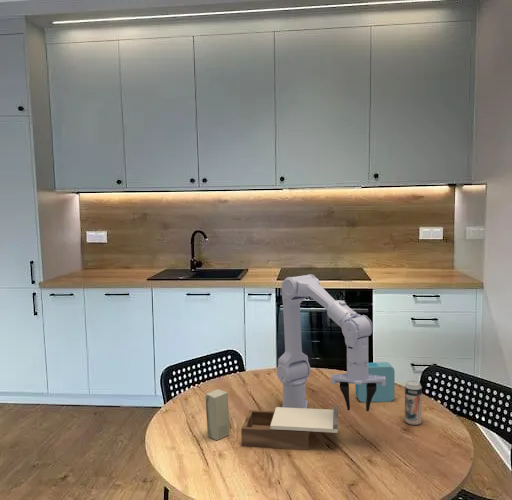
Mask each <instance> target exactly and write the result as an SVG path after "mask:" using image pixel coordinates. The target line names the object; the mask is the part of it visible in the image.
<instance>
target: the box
mask: <svg viewBox="0 0 512 500" xmlns="http://www.w3.org/2000/svg"><path fill="white" fill-rule="evenodd" d="M228 394H229V393H228V392H227V391H224V390H221V389H219V388H218V389H215V390H213V391H209V392H207V393H205V411H206V429H207V437H209V438H211V439H213V440H215V441H219V440H221V439H223V438H225V437H228V436H229V435H230V429H231V428H230V415H229V412H230V410H229V395H228Z"/></svg>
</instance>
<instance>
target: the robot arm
mask: <svg viewBox="0 0 512 500" xmlns="http://www.w3.org/2000/svg"><path fill="white" fill-rule="evenodd" d="M320 284H321V283H320V279H318V278H317V277H316V276H315V275H314V274H311V273H308V274H306V275H305V274H303V275H298V276H287V277H286V278H285V279H283V281H282V282H281V298H282V299H281V300H282V312H283V313H282V314H283V315H282V316H283V332H284V333H283V334H284V335H283V336H284V337H283V338H284V353H282V355H281V356H280V357H279V358H278V360H277V363H278V364H277V368H276V375H277V379H278V380H279V381H280V383H282V401H283V402H282V405H281V407H285V408H307V409H308V404H309V400H306V382H307V381H308V378H309V376H310V375H311V365H310V362H309V357H308V355H307V354H305V353H304V352H303V347H302V343H303V342H302V324H301V320H302V319H301V304H302V303H303V301H304V300H305V299H306V298H308V297H310V298H311V299H313V301H315V302H317V303H318V304H319V305H320V306H322V307H323V308H325V310H327V313H326V314H327V316H328V317H329V318H330V319H331V320H332V321H333V322H334V323H335V324H336V325H337V326H338V327H340V328H341V332H342V335H343V336H344V343H345V346H346V373H339V374H336V373H335V374H330V384H332V385H333V384H334V385H335V384H339V389H340V392H341V394H342V395H343V398H344V400H345V403H346V410H347V411H351V406H350V405H351V404H350V403H351V402H350V384H351V385H352V384H353V385H356V384H366V389H367V397H366V402H365V409H366V410H365V411H366V412H369V411H370V406H371V403H372V402H371V400H372V398H373V396H374V394H375V392H376V389H377V387H376V384H377V385H382V386H386V379H385V376H376V375H370V374H368V363H369V336H371V335H372V333H373V331H374V325H373V323H372V320H371V319H370V318H369V317H368V315H365V314H362V315H361V314H360V313H357V312H356V310H353V309H352V308H350V307H349V305H347V303H346V301H344V300H341V299H340V300H336V299H334V297H332V295H331V294H329V293H328V291H327V290H326V289H325V288H324V287H322V285H320Z"/></svg>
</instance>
